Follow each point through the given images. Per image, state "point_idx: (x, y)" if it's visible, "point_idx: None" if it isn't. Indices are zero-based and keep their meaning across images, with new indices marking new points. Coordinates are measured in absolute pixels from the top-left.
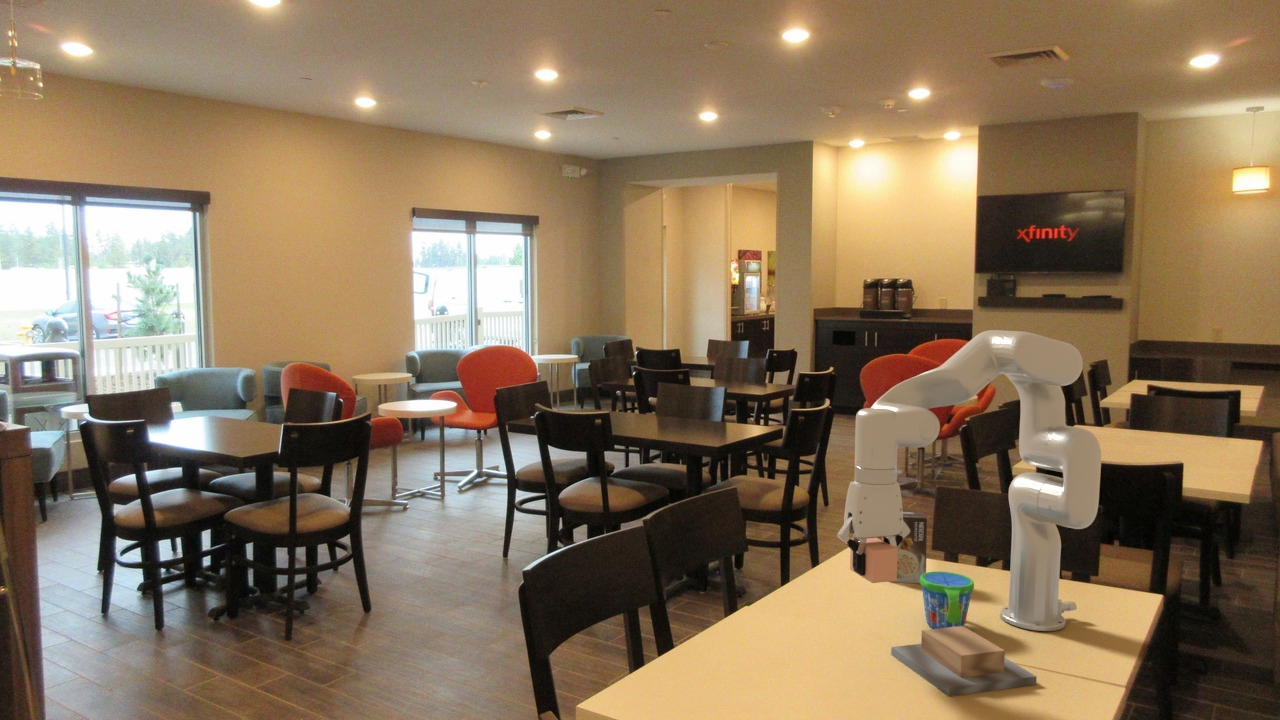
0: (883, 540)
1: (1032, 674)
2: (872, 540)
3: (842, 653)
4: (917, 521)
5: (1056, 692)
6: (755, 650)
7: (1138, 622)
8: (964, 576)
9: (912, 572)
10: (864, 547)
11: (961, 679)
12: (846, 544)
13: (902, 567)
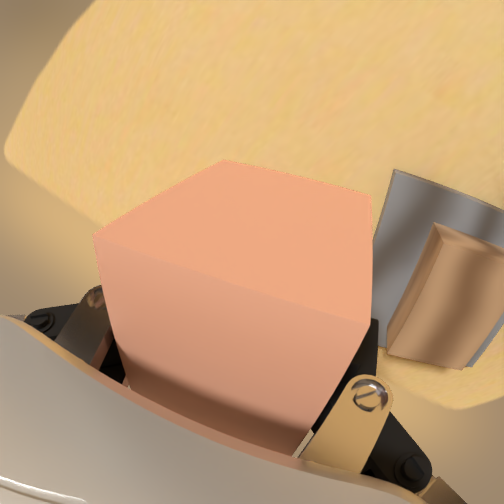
0: (320, 426)
1: (474, 362)
2: (244, 377)
3: (300, 110)
4: None
5: (463, 376)
6: (151, 44)
7: None
8: None
9: None
10: (128, 384)
11: (381, 329)
12: (51, 308)
13: None
